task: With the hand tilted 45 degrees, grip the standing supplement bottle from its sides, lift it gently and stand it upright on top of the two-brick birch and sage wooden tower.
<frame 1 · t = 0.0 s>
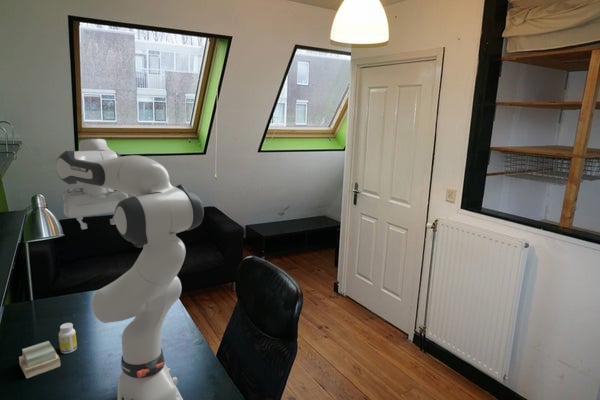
hand: (99, 226, 139), 48 cm above the table, tool pointing down, fingers open, 8 cm apart
supplement bottle: (68, 350, 150), on the table
brick tower: (40, 365, 140), on the table
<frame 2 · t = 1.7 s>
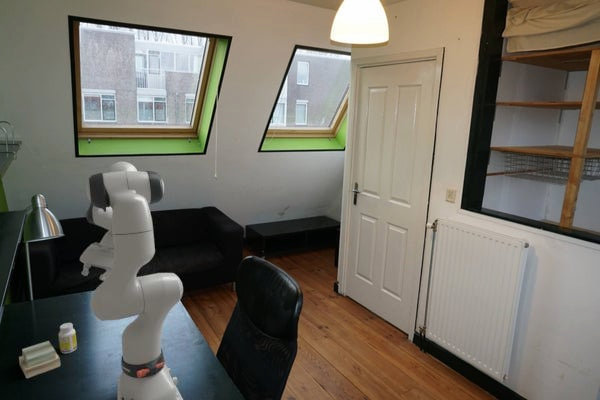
hand: (92, 277, 156), 24 cm above the table, tool tilted 45°, fingers open, 8 cm apart
nothing on the table moved.
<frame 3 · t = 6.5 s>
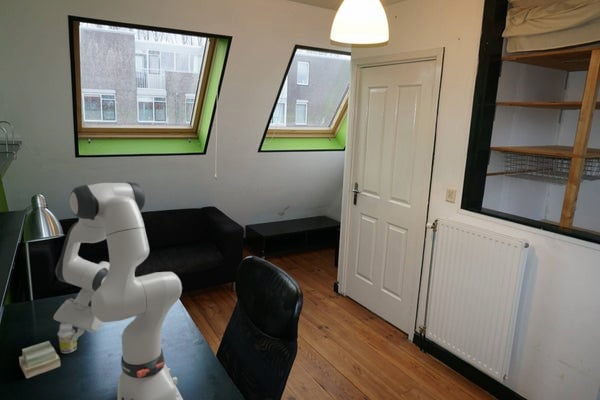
hand: (66, 338, 148), 5 cm above the table, tool tilted 45°, fingers closed on supplement bottle, 5 cm apart
supplement bottle: (68, 350, 150), on the table, touching gripper
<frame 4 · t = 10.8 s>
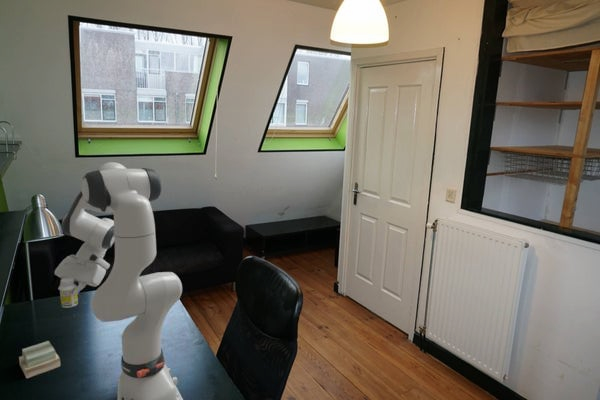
hand: (67, 292, 147), 22 cm above the table, tool tilted 45°, fingers closed on supplement bottle, 5 cm apart
supplement bottle: (69, 305, 148), point 17 cm above the table, touching gripper
when the fingers open (12 cm above the table, at t = 15.4 s): supplement bottle drops 1 cm, resting on brick tower.
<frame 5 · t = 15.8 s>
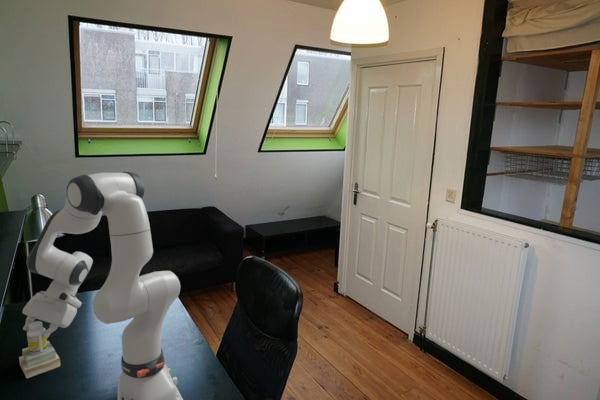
hand: (34, 333, 137), 12 cm above the table, tool tilted 45°, fingers open, 8 cm apart
supplement bottle: (38, 350, 139), point 6 cm above the table, touching brick tower
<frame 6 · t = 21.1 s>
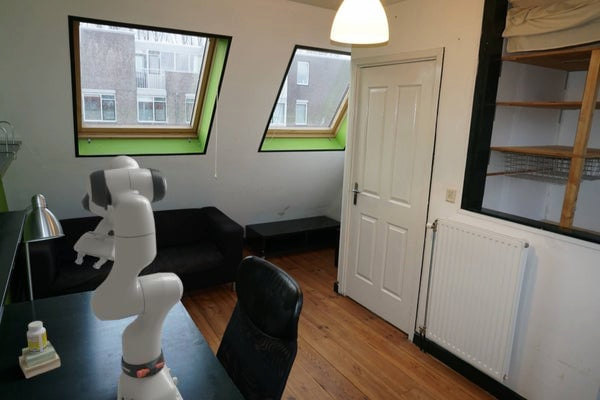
hand: (86, 265, 153), 29 cm above the table, tool tilted 45°, fingers open, 8 cm apart
nothing on the table moved.
at the end: supplement bottle 0.0 cm off-centre on the brick tower, point 5.8 cm above the brick tower's base; supplement bottle tilted 0°; the gripper is holding nothing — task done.
